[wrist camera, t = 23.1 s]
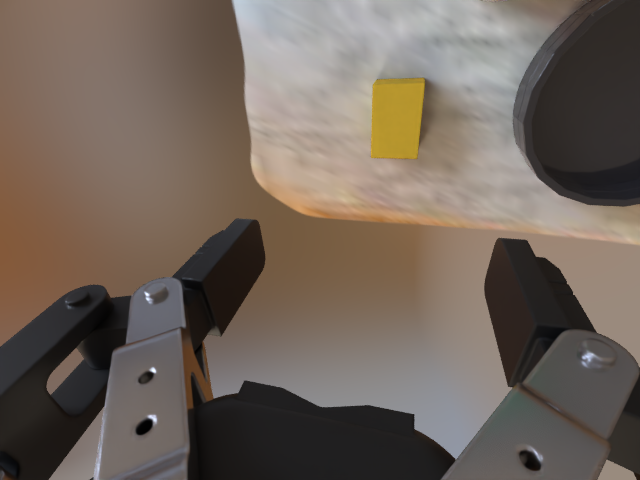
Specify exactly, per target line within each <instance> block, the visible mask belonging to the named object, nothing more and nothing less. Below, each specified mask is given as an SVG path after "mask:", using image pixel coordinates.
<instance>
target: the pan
mask: <svg viewBox="0 0 640 480" xmlns="http://www.w3.org/2000/svg"><path fill="white" fill-rule="evenodd" d="M513 129H514V136H515V140H516V144H517V146H518V148H519V150H520V152H521V154H522V156H523V157H524V159H525V161H526V163H527V165H528V166H529V167H530V169H531V170H532V171H533V172H534V174H535V175H536V176H537V177H538V178H539V179H540V180H541V181H542V182H544V183H545V184H546V185H547V186H549V187H550V188H551V189H552V190H554V191H555V192H556V193H557V194H559V195H561V196H564V197H567V198H570V199H573V200H576V201H579V202H582V203H585V204H588V205H603V206H631V205H636V204H640V0H591V1H590V2H588V3H587V4H585V5H584V6H583V7H582V8H580V9H579V10H578V11H576V12H575V13H574V14H573V15H571V16H570V17H569V18H568V19H567V20H566V21H565V22H564V23H563V24H562V25H561V26H560V27H558V28H557V29H556V30H555V32H554V33H553V34H552V35H551V36H550V37H549V38H548V40H547V41H546V42H545V43H544V44H543V46H542V47H541V48H540V50H539V51H538V53H537V54H536V55H535V57H534V58H533V60H532V62H531V63H530V65H529V67H528V69H527V70H526V72H525V74H524V77H523V79H522V81H521V83H520V86H519V89H518V92H517V95H516V99H515V105H514V110H513Z"/></svg>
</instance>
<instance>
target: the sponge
mask: <svg viewBox="0 0 640 480" xmlns="http://www.w3.org/2000/svg"><path fill="white" fill-rule="evenodd" d="M424 90H425V79H424V78H405V79H377V80H376V81H375V83H374V84H373V98H372V136H371V158H398V159H417V157H418V147H419V138H420V128H421V119H422V109H423V100H424Z"/></svg>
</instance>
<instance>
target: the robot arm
mask: <svg viewBox="0 0 640 480" xmlns="http://www.w3.org/2000/svg"><path fill="white" fill-rule="evenodd" d="M264 265H265V251H264V246H263V241H262V235H261V230H260V225H259V222H258V221H257V220H251V219H239V218H238V219H235V220H234V221H233V222H232V223H231V224H230V225H229V226H228V228H226V229H225V230H222V231H221V232H219V233H217V234H215V235H214V236H212V237H210V238H209V239H208V240H207V241H206V242H205V243H204V244H203V245H202V247H200V249H198V251H197V252H196V254H194V255H193V256H192V257H191V258H190V259H189V260H188V261H187V262H186V263H185V264H184V265H183V266H182V267H181V268H180V269H179V270H178V271H177V272H176V273H175V274H174V275H173V276H172V277H165V278H159V279H155V280H152V281H150V282H148V283H146V284H144V285H143V286H141V287H139V288H138V289H137V290H136V291H135V292H134V294H133V295H132V296H124V297H115V298H111V297H110V296H109V294H108V292H107V290H106V289H105V288H104V287H103V286H101V285H88V286H84V287H80V288H78V289H75V290H73V291H70V292H69V293H67V294H65V295H64V296H62V297H61V298H59V299H58V300H57V301H56V302H55V303H53V304H52V305H51V306H50V307H48V308H47V309H46V310H45V311H44V312H42V313H41V314H40V315H39V316H37V317H36V318H35V319H34V320H32V321H31V322H30V323H29V324H28V325H26V326H25V327H24V328H23V329H22V330H20V331H19V332H18V333H17V334H15V335H14V336H13V337H12V338H11V339H9V340H8V341H7V342H6V343H4V344H3V345H2V346H1V347H0V480H49V478H50V477H51V476H52V474H53V473H54V472H55V470H56V469H57V468H58V466H59V465H60V464H61V462H62V461H63V459H64V458H65V457H66V456H67V454H68V453H69V452H70V451H71V449H72V448H73V447H74V445H75V444H76V442H77V441H78V440H79V439H80V437H81V436H82V435H83V433H84V432H85V431H86V429H87V428H88V427H89V425H90V424H91V423H92V421H93V420H94V419H95V418H96V416H97V415H98V413H99V412H100V411H101V410H102V408H103V407H104V413H103V419H102V426H101V433H100V440H99V446H98V453H97V459H96V466H95V473H94V477H93V478H91V479H90V480H597V479H598V477H599V475H600V472H601V470H602V468H603V466H604V464H605V462H606V460H610V461H612V462H614V463H616V464H618V465H620V466H622V467H624V468H626V469H628V470H631V471H633V472H634V475H635V477H636V479H637V480H640V367H639V366H638V363H637V362H636V360H635V359H634V357H633V356H632V355H631V354H630V353H629V352H628V351H627V350H626V349H625V348H623V347H622V346H621V345H620V344H618V343H617V342H615V341H613V340H612V339H610V338H608V337H606V336H603V335H601V334H598V333H597V332H596V330H595V329H594V327H593V325H592V324H591V322H590V320H589V318H588V317H587V315H586V313H585V312H584V310H583V308H582V307H581V305H580V303H579V302H578V300H577V298H576V297H575V295H573V291H572V290H571V288H570V286H569V285H568V284H567V281H566V279H565V278H564V276H563V274H562V273H561V271H560V269H559V268H557V267H556V266H555V265H554V264H552V263H551V262H550V261H548V260H547V259H546V258H542V257H536V256H535V254H534V253H533V251H532V249H531V247H530V245H529V243H528V241H527V240H521V239H520V240H519V239H507V238H498V239H497V240H496V243H495V245H494V249H493V253H492V256H491V260H490V264H489V267H488V271H487V274H486V278H485V286H484V290H485V298H486V302H487V305H488V310H489V314H490V318H491V321H492V325H493V329H494V333H495V337H496V341H497V345H498V349H499V352H500V357H501V361H502V365H503V368H504V372H505V376H506V380H507V384H508V387H513V388H512V390H511V391H510V392H509V393H508V395H507V396H506V397H505V398H504V400H503V401H502V402H501V403H500V405H499V406H498V407H497V408H496V410H495V411H494V412H493V414H492V415H491V416H490V417H489V419H488V420H487V421H486V423H485V424H484V425H483V426H482V428H481V429H480V430H479V431H478V433H477V434H476V435H475V437H474V438H473V439H472V440H471V442H470V443H469V444H468V445H467V447H466V448H465V449H464V450H463V452H462V453H461V454H460V456H459V457H458V458H457V459H456V460H455V458H454V457H453V456H452V455H451V454H450V453H448V452H447V451H446V450H445V449H444V448H443V447H441V446H440V445H439V444H438V443H437V442H435V441H434V440H432V439H431V438H429V437H428V436H426V435H424V434H422V433H421V432H419V431H417V430H415V429H414V414H409V413H404V412H399V411H394V410H389V409H384V408H380V407H374V406H370V405H365V406H347V407H346V406H345V407H319V406H317V405H315V404H313V403H311V402H309V401H307V400H305V399H303V398H301V397H299V396H297V395H295V394H293V393H291V392H289V391H287V390H285V389H283V388H280V387H275V386H270V385H265V384H260V383H255V382H250V381H244V383H243V385H242V387H241V389H240V391H239V393H236V394H230V395H225V396H221V397H218V398H215V399H214V398H213V393H212V389H211V382H210V375H209V369H208V362H207V356H206V349H205V345H204V342H203V340H204V339H205V337H206V336H207V334H208V335H215V336H220V337H221V336H222V334H223V333H224V331H225V330H226V328H227V326H228V325H229V323H230V322H231V320H232V318H233V317H234V315H235V314H236V312H237V310H238V309H239V307H240V306H241V304H242V303H243V301H244V299H245V298H246V296H247V295H248V293H249V291H250V290H251V288H252V287H253V285H254V283H255V282H256V280H257V279H258V277H259V275H260V274H261V272H262V271H263V268H264ZM75 348H77V349H78V350H79V352H80V353H81V355H82V356H83V358H84V360H83V361H82V362H81V363H80V364H79V365H78V366H77V367H76V369H75V370H74V371H73V372H72V373H71V374H70V375H69V376H68V377H67V378H66V379H65V381H64V382H63V383H62V384H61V385H60V386H59V387H58V388H57V389H56V390H55V391H54V392H53V393H52V394H51V395H50V394H49V393H48V391H47V388H46V385H47V380H48V378H49V376H50V374H51V373H52V372H53V370H55V368H56V367H57V366H58V365H59V364H60V363H61V362H62V361H63V360H64V359H65V358H66V357H67V356H68V355H69V354H70V353H71V352H72V351H73V350H74V349H75Z"/></svg>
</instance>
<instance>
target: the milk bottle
mask: <svg viewBox="0 0 640 480" xmlns="http://www.w3.org/2000/svg"><path fill="white" fill-rule="evenodd" d="M482 1H487V2H499V1H507V0H482Z"/></svg>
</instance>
